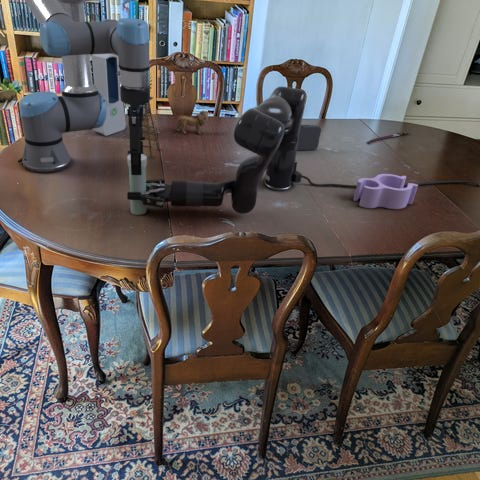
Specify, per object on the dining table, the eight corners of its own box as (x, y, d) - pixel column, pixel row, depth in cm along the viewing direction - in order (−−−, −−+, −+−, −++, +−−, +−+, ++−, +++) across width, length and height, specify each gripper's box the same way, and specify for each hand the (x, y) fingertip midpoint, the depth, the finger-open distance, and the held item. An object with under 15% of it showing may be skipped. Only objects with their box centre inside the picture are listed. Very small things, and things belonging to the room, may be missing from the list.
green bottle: (142, 216, 137) (141, 163, 128) (128, 213, 137) (125, 160, 128) (148, 208, 140) (148, 157, 131) (134, 206, 141) (132, 154, 132)
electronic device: (104, 136, 184) (98, 57, 168) (90, 131, 187) (84, 53, 171) (126, 129, 193) (123, 53, 177) (113, 124, 196) (109, 49, 180)
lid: (142, 169, 128) (142, 162, 127) (124, 166, 129) (123, 159, 128) (149, 162, 133) (149, 155, 131) (132, 159, 133) (131, 152, 132)
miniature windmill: (151, 157, 172) (150, 74, 155) (129, 154, 173) (126, 70, 156) (160, 149, 179) (159, 68, 163) (139, 145, 180) (137, 64, 164)
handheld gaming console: (315, 147, 196) (319, 124, 190) (317, 149, 194) (322, 126, 188) (264, 149, 189) (267, 125, 183) (266, 152, 187) (269, 127, 181)
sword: (405, 131, 223) (406, 129, 223) (410, 133, 221) (411, 131, 221) (362, 143, 208) (363, 140, 207) (367, 145, 206) (368, 143, 205)
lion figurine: (205, 129, 202) (206, 108, 197) (209, 133, 198) (210, 112, 193) (172, 130, 197) (172, 109, 192) (175, 135, 193) (175, 113, 188)
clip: (366, 212, 151) (371, 193, 147) (347, 194, 161) (351, 176, 157) (417, 207, 158) (423, 188, 154) (395, 190, 167) (401, 172, 163)
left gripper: (123, 75, 127) (127, 154, 139) (115, 96, 110) (120, 184, 122) (151, 76, 128) (152, 155, 140) (147, 98, 111) (149, 184, 123)
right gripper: (187, 171, 141) (130, 169, 139) (188, 193, 129) (125, 191, 127) (187, 193, 145) (131, 191, 143) (187, 217, 133) (126, 215, 131)
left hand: (137, 168), depth 131 cm, fingers open, 7 cm apart
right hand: (128, 191), depth 135 cm, fingers closed on green bottle, 4 cm apart
